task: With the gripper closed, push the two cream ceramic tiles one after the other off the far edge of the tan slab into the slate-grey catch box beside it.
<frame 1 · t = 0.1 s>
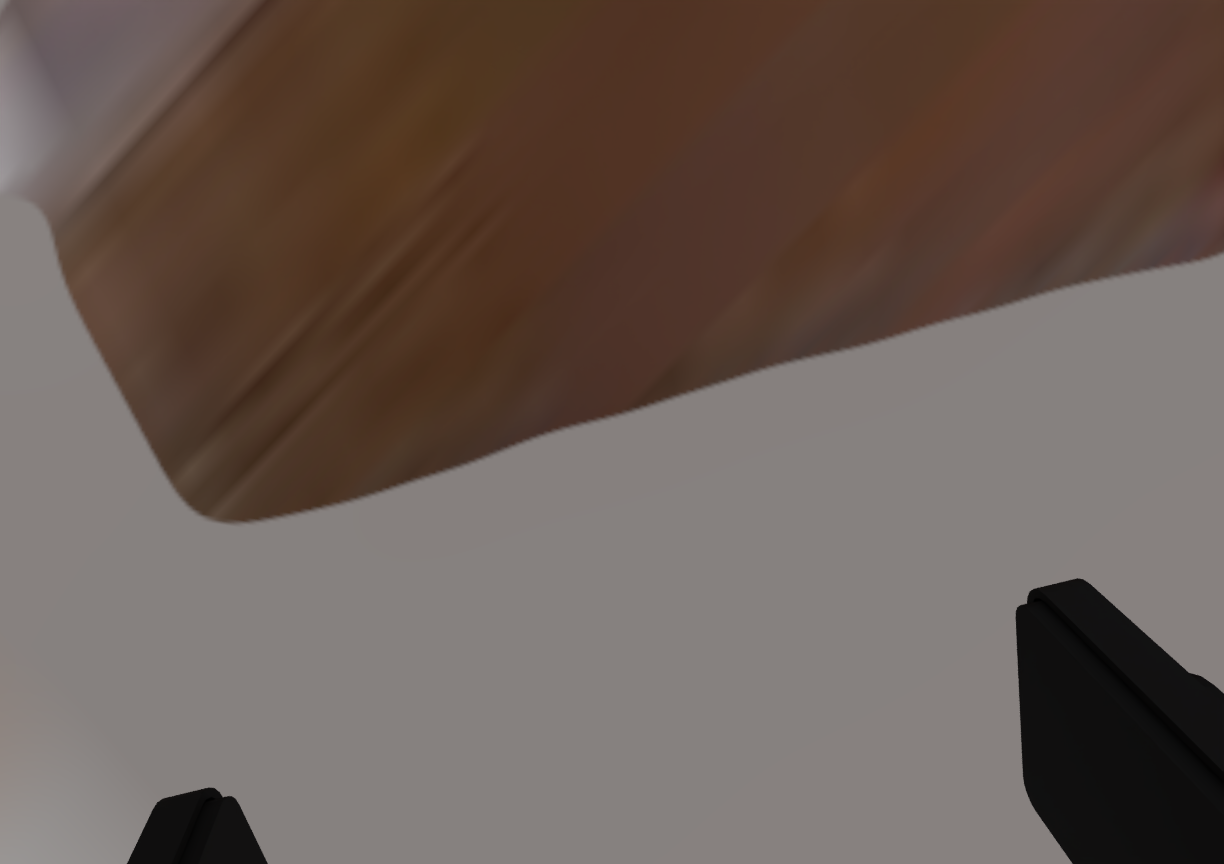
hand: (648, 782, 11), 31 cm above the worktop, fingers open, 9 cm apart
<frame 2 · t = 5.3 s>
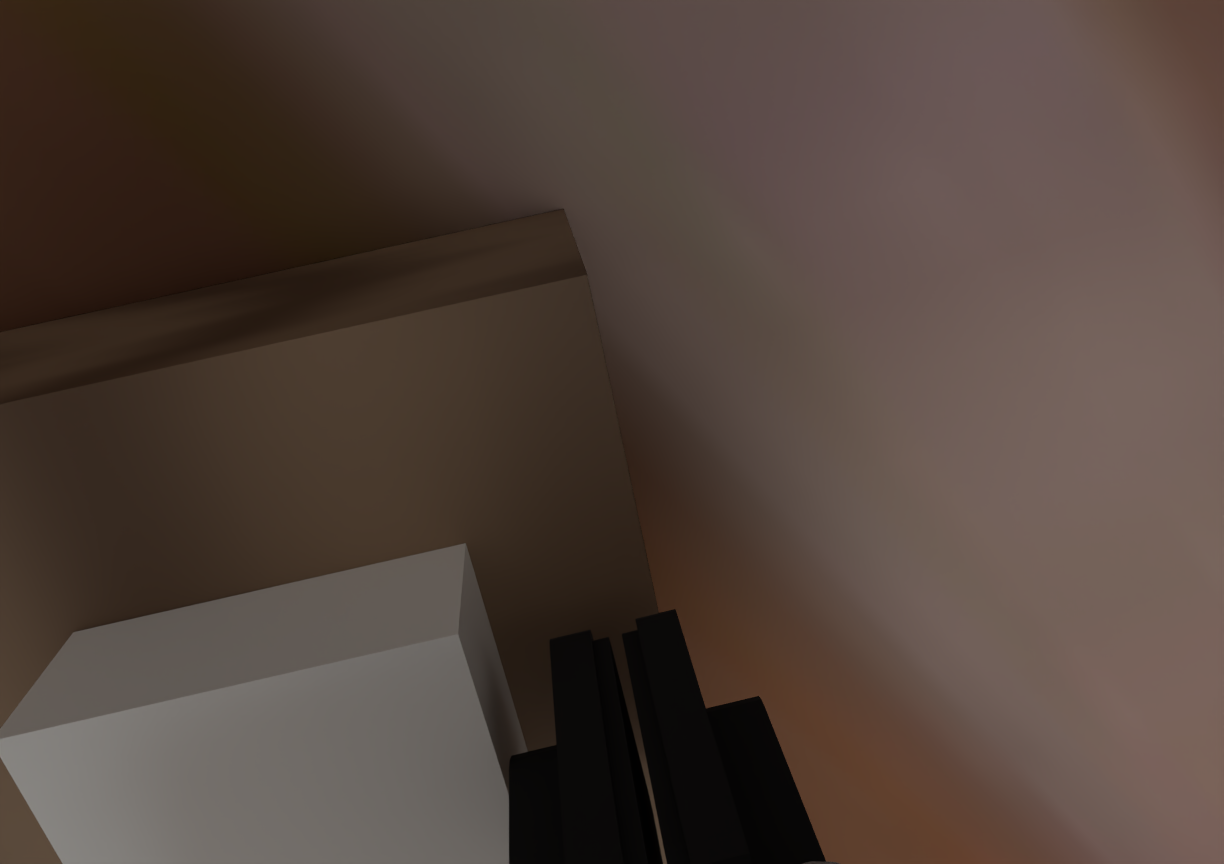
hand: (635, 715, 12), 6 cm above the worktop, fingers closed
tile 1: (332, 741, 13), point 5 cm above the worktop, touching gripper
tan slab: (429, 747, 19), on the worktop
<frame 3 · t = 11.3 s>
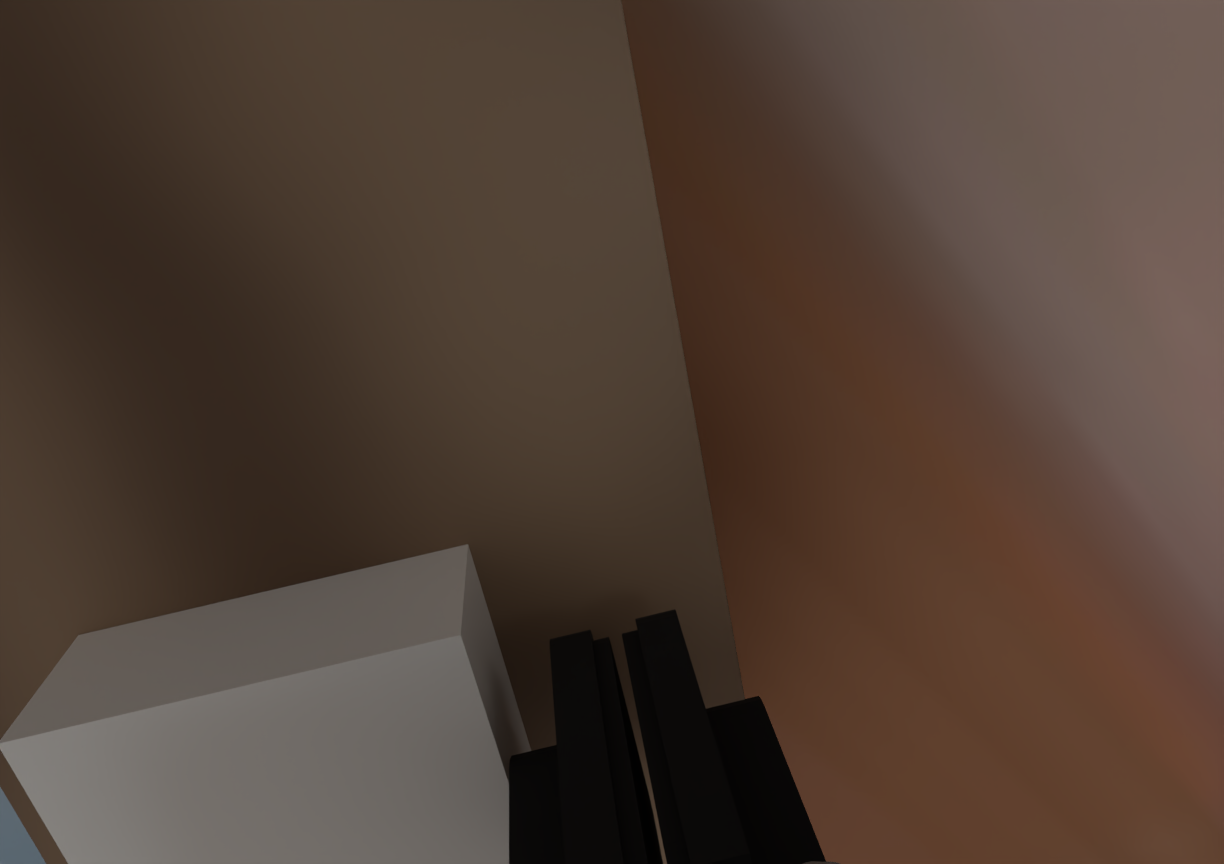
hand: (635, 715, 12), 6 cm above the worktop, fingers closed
tan slab: (338, 320, 15), on the worktop
tile 2: (336, 742, 13), point 5 cm above the worktop, touching gripper
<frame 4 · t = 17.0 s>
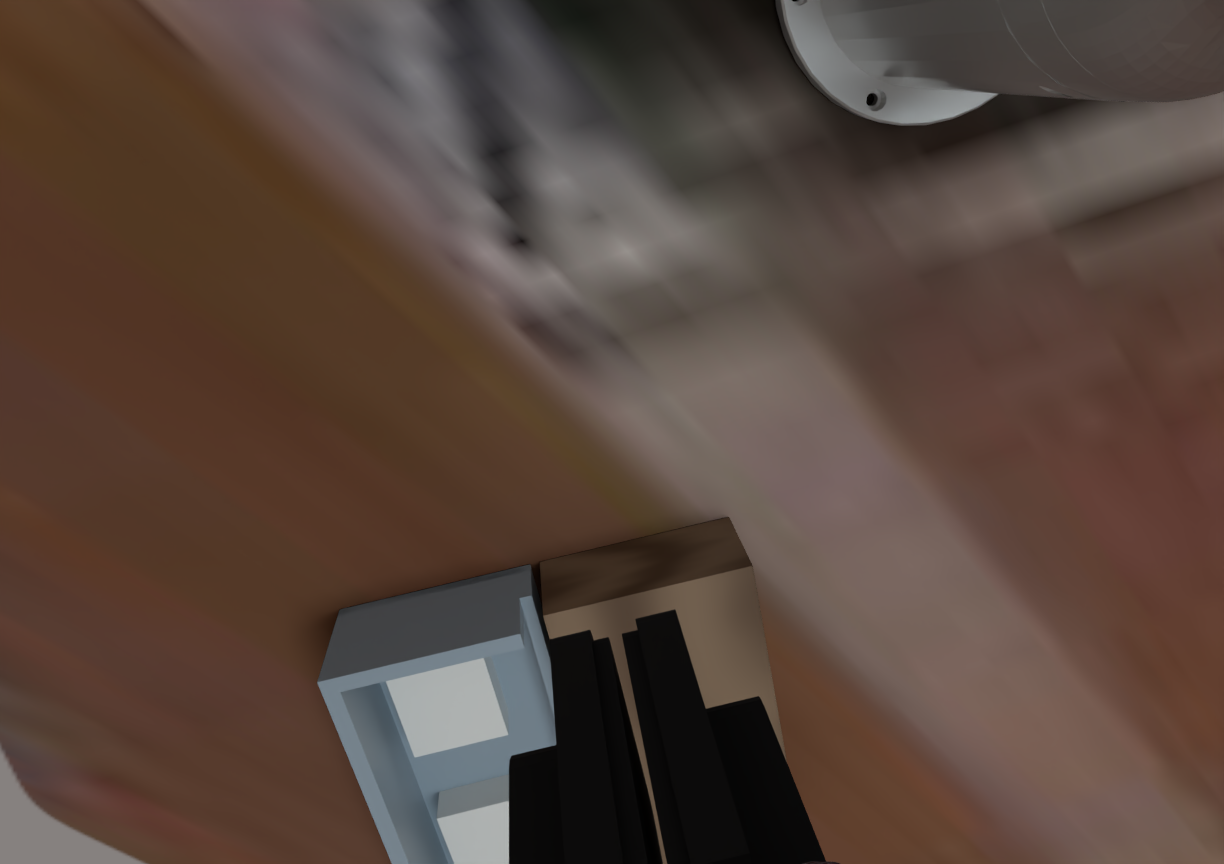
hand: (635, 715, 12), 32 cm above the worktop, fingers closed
tile 1: (448, 708, 47), point 3 cm above the worktop, tilted 180°, touching catch box
tan slab: (669, 693, 51), on the worktop
tile 2: (494, 841, 51), point 3 cm above the worktop, tilted 180°, touching catch box
catch box: (485, 737, 51), on the worktop
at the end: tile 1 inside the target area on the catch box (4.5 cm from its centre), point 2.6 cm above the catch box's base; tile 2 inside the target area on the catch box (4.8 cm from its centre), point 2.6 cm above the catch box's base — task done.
